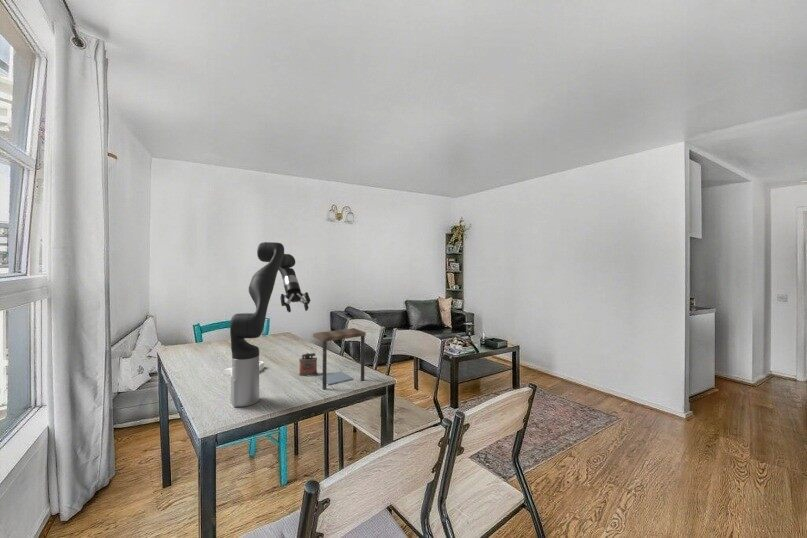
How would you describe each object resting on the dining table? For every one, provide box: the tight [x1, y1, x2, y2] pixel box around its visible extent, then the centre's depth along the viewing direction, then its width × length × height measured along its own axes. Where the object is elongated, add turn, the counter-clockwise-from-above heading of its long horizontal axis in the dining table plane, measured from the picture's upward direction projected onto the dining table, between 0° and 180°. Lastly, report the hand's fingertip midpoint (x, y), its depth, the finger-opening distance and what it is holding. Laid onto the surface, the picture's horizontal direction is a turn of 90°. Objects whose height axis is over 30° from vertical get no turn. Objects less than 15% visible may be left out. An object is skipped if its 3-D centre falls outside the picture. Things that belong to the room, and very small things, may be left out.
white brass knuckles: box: [223, 360, 265, 378], centre depth 159 cm, size 3×18×15 cm
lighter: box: [298, 352, 318, 377], centre depth 157 cm, size 8×3×10 cm, turn 105°
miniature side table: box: [312, 327, 367, 390], centre depth 148 cm, size 20×11×22 cm, turn 126°
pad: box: [317, 370, 354, 386], centre depth 152 cm, size 12×12×1 cm
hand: (298, 310), depth 169 cm, fingers open, 8 cm apart
